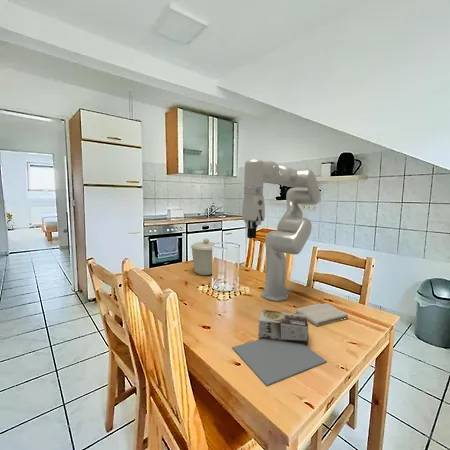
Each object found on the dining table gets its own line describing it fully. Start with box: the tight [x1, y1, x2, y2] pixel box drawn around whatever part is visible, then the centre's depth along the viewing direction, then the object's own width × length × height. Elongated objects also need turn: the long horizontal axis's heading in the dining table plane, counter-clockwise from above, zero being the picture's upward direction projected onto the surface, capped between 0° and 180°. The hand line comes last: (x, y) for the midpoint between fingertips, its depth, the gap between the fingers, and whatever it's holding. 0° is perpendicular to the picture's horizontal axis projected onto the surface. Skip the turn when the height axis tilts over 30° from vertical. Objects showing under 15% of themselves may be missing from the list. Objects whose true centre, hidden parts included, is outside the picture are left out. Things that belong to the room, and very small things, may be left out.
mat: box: [232, 338, 327, 387], centre depth 80 cm, size 22×18×1 cm
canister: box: [190, 238, 218, 276], centre depth 157 cm, size 18×18×21 cm
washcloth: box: [295, 302, 349, 327], centre depth 106 cm, size 12×18×3 cm, turn 116°
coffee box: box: [257, 309, 309, 345], centre depth 91 cm, size 9×6×16 cm
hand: (251, 237), depth 105 cm, fingers closed
